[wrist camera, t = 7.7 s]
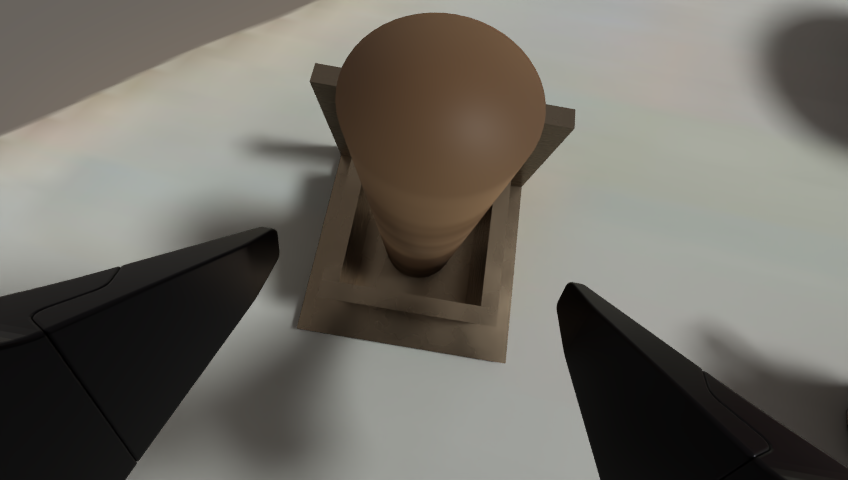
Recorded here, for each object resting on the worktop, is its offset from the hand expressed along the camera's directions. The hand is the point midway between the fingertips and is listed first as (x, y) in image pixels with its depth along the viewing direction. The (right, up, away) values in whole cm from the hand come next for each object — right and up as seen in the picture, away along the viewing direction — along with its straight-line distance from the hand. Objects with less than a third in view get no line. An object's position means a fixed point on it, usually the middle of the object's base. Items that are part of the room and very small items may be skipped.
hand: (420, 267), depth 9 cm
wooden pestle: (0, +1, +9) cm, 9 cm away
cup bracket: (0, 0, +10) cm, 10 cm away
